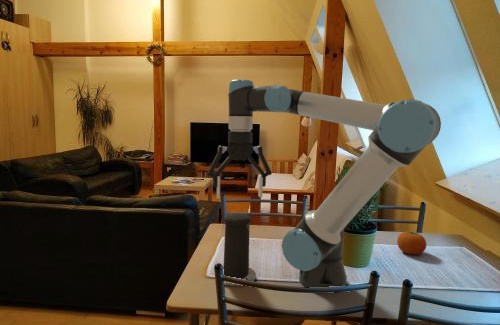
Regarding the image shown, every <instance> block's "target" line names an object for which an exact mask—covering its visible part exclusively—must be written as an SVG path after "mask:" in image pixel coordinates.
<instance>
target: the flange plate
mask: <svg viewBox="0 0 500 325" xmlns="http://www.w3.org/2000/svg"><path fill="white" fill-rule="evenodd" d="M256 274H257V273H256V271H255V270H254V269H253V268H251V267H249V274H248V275H247V276H246V277H244V278H241V279H246V280H252V281H254V282H255V281H256V279H257V278H256ZM225 284H226V286H225V287H230V286H233V287H232V288H238V287H239V288H240V286H241V285H237V284H232V283H227V282H226V283H225Z"/></svg>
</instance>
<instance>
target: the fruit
mask: <svg viewBox="0 0 500 325" xmlns="http://www.w3.org/2000/svg"><path fill="white" fill-rule="evenodd" d="M396 244H397V247H398V249H399V250H400V252H403V253H405V254H408V255H419V254H422V253H424V252H425V251H426V248H427V240H426V239H425V237H424V236H423V235H422V234H420V233H418V232H415V231H404V232H402V233H400V234H399V235H398V237H397V243H396Z"/></svg>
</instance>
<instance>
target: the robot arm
mask: <svg viewBox="0 0 500 325" xmlns="http://www.w3.org/2000/svg"><path fill="white" fill-rule="evenodd" d="M227 95H228V130H230V131H228V134H227V136H228V137H227V141H228V142H227V143H228V144H227V146H222V145H218V147H217V153H216V155H215V157H214V159H213V161H212V163H211V165H210V166H209V169H208V170H207V175H208V176H210V177H212V180H213V182H212V184H213V188H216V198H217V199H218V200H219V199H220V198H221V177H220V175H221V174H222V172H223V171H224V170H225V169H226V167H227V166H228V165H229V164H230V163H231V162H232V161H233V160H234V161H246V160H248V161H249V162H250V163H251V165H252V166H253V167H254V168H255V169H256V170H257V172H258V173H259V174H260V175H259V176H258V186H257V187H258V190H257V191H258V194H257V195H258V197H259V198H263V188H265V187H266V183H267V182H266V181H267V177H268V176H271V175H272V169H270V165H269V164H268V162H267V160H266V157H265V155H264V153H263V146H260V145H257V146H253V132H252V131H251V130H253V127H254V126H253V124H254V123H253V116H254V115H253V114H254V112H262V113H263V112H264V113H267V112H268V113H286V114H290V115H291V114H292V115H297V116H303V117H308V118H313V119H316V120H321V121H325V122H331V123H336V124H341V125H346V126H348V127H349V126H351V127H355V128H359V129H364V130H370V131H372V132H371V133H370V134H369V135H368V137H367V138H368V139H367V140H368V146H367V148H366V149H365V150H364V151H363V153H362V154H360V156H359V157H358V159H357V160H356V161H355V162H354V164H353V165H351V167H350V168H349V170H348V171H347V172H346V173H345V175H344V176H343V177H342V178H341V180H340V181H339V182H338V183H337V185H335V187H334V188H333V190H332V191H331V192H330V193H329V194H328V195H327V197H326V198H325V199H324V201H322V203H321V204H320V205H319V206H318V208H317V209H316V210H315V209H314V210H313V209H312V210H309V211H308V212H307V213H305V215H304V216H303V218H301V220H300V221H299V222H298V223H297V225H296V226H295V227H294V228H293V229H291V230H289V231H288V232H287V233H285V235H284V236H283V238H282V241H281V250H282V254H283V256H284V258H285V260H286V261H287V262H288V264H289V265H290V266H292V267H293V268H294V269H297V270H298V271H299V276H298V277H299V278H298V280H299V282H300V283H301V285H302V286H304V287H305V288H307V287H329V286H342V285H346V286H347V284H348V283H347V281H348V278H347V274H346V269H345V265H344V261H343V255H344V254H343V253H344V251H343V250H344V239H345V237H344V236H345V228H346V227H347V225H348V224H349V223H351V221H352V220H353V219H354V217H356V215H357V214H358V213H359V212H360V210H362V209H363V208H364V206H365V205H366V204H367V203H368V202H369V201H370V199H371V198H372V197H373V196H374V195H375V193H377V192H378V190H379V189H380V188H381V187H382V186H383V185H384V184H385V182H386V181H388V179H389V178H391V175H393V173H394V172H395V171H396V170H397V169H398V168H403V167H404V168H405V167H408V166H410V165H411V163H412V162H414V160H415V159H416V158H417V157H418V156H419V155H420V154H421V153H422V152H423V150H424V149H425V148H426V147H427V146H428V145H429V144H431V143H432V142H434V141H435V140H436V138H437V137H438V136H439V134H440V131H441V129H442V128H441V125H442V122H441V117H440V115H439V113H438V111H437V110H436V109H435V108H434V107H432V106H431V105H430V104H427V103H425V102H422V100H418V99H404V100H399V101H396V102H394V101H393V102H392V101H391V102H389V103H387V104H381V103H375V102H369V101H364V100H357V99H351V98H345V97H339V96H333V95H327V94H321V93H314V92H309V91H303V90H297V89H294V88H293V89H291V88H288V87H287V86H286V85H279V84H273V85H263V86H261V85H259V86H258V85H257V86H255V85H254V82H253V80H250V79H232V80H231V81H229V86H228V94H227ZM225 152H227V153H228V154H229V155H228V156H227V157H226V158H225V160H224V161H223V162H222V163H221V164H220V165H219V167H218V168H217V169H216V167H217V166H218V164H219V161H220V159H221V157H222V155H223V154H224V153H225ZM253 152H255V154H257V156H258V158H259V160H260V162H261V164H262V166H263V169H264V170H263V169H262V167H261V166H260V165H259V164H258V163H257V161H256V160H255V159H254V158H253V156H252V154H253ZM215 169H216V170H215Z"/></svg>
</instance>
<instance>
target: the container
mask: <svg viewBox="0 0 500 325" xmlns="http://www.w3.org/2000/svg"><path fill="white" fill-rule="evenodd" d="M223 218H224V219H223V221H224V227H225V228H224V246H223V249H224V250H223V267H222V268H223V269H224V275H225V276H230V277H236V278H244V277H246V276H247V275H248V274H249V268H250V229H251V228H250V224H251V221H252V218H251V216H250V215H249V214H246V213H241V212H231V213H228V214H226V215H225V216H224V217H223Z"/></svg>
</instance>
